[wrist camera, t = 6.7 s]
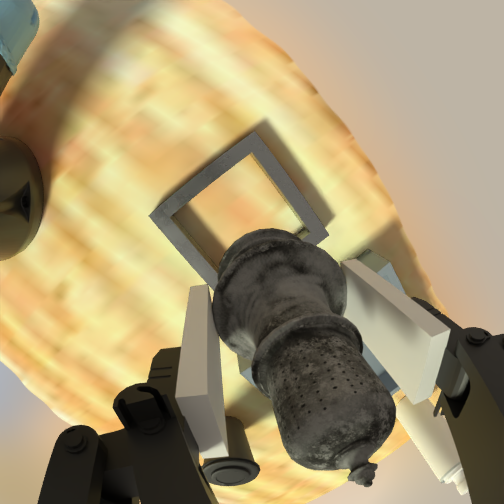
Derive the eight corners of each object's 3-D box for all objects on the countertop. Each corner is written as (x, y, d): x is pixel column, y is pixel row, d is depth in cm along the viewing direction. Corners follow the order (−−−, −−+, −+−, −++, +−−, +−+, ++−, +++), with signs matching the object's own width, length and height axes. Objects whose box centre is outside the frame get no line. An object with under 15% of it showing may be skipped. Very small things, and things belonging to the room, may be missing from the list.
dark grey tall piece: (199, 236, 14) (170, 454, 3) (314, 212, 15) (516, 328, 3) (225, 336, 16) (253, 547, 5) (325, 312, 17) (443, 479, 5)
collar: (152, 212, 29) (148, 215, 27) (252, 133, 28) (254, 130, 26) (230, 301, 33) (231, 309, 31) (322, 230, 32) (329, 235, 30)
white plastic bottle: (393, 420, 45) (452, 512, 21) (394, 400, 43) (463, 500, 19) (421, 405, 45) (484, 489, 21) (424, 384, 43) (497, 473, 19)
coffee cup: (210, 445, 40) (213, 493, 31) (190, 416, 38) (189, 470, 28) (258, 434, 40) (268, 483, 31) (242, 404, 38) (251, 459, 28)
